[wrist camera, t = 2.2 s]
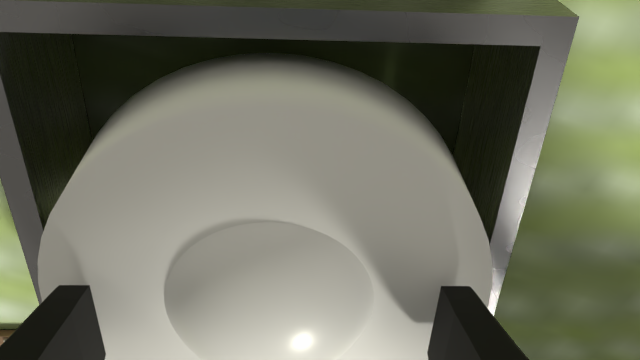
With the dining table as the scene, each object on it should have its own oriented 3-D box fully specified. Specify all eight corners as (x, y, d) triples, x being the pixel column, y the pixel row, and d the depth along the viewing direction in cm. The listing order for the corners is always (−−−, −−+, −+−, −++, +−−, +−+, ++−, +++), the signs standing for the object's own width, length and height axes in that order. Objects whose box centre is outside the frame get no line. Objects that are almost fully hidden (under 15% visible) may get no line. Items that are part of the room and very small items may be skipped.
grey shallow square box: (513, -33, 15) (579, 16, 11) (440, 306, 21) (468, 402, 18) (29, -50, 14) (-55, -2, 11) (107, 306, 20) (70, 405, 17)
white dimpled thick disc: (482, 34, 13) (573, 145, 9) (424, 324, 19) (464, 483, 14) (58, 22, 13) (-61, 135, 9) (121, 325, 18) (66, 489, 14)
